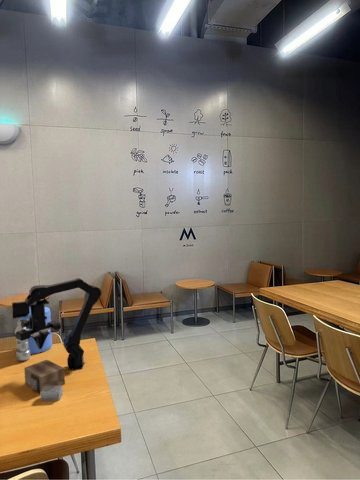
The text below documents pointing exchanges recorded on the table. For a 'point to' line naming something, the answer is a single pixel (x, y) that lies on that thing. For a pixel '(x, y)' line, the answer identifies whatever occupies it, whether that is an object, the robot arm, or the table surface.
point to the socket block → (45, 374)
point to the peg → (34, 383)
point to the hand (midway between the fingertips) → (40, 348)
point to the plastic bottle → (22, 345)
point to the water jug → (48, 341)
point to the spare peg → (51, 393)
